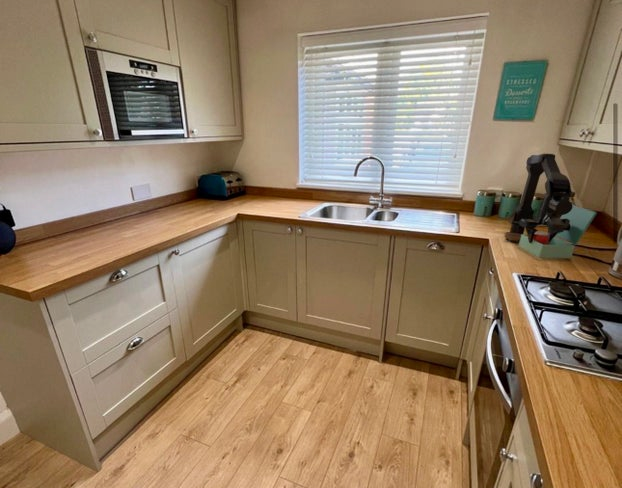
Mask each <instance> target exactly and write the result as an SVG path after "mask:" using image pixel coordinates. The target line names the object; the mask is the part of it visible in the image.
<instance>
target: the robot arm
mask: <svg viewBox="0 0 622 488" xmlns="http://www.w3.org/2000/svg"><path fill="white" fill-rule="evenodd" d="M525 169H526V171H527V174H528V175H527V177H526V178H527V179H526V181H525V186H524V189H523V192H522V195H521V200H520V202H519V204H518V205H517V206H516V207H515V208H514V210H513V212H512V213H511V215H509V217H508V221H507V222H508V223H509V224H510V229H509V231H507V232H505V233H517V234H525V231H526V234H527V235H528V240H529V243H532V241H533V238H534V235H535V232H537V231H538V230H539V229H537V227H542V228H547V231H546V232H547V233H549V234H550V237H549V242H550V241H551V240H552V239H553V238H554V237H557V236H556V235H557V234H558V233H560V232H564V231H563V230H566V231H569V230H570V228H571V225H570V224H569V222H570V220H569V219H560V218H561V217H560V215H561V216H562V215H565V214H567V213H569V212H570V211H571V210H572V208H573V207H572V205H573V202H571V201H570V198H572V194H573V191H572V186H571V181H570V178H568V176H567V175H565V174H563V173H562V172H561V170H560V167H559V165H558V162H557V161H556V154H554V153H546V152H545V153H540V154H531V155H530V156H529V157H528V158H527V159H526V167H525ZM542 174H545V178H546V181H545V183H544V189H545V193H544V196H545V197H544V200H543V203H542V206H541V208H538V212H539V216H538V217H537V218H535V220H533V219H534V213H535V210H534V209H533V206H532V205H533V201H534V197H535V194H536V191H537V188H538V184H539V181H540V177H541V176H542ZM549 242H548V244H549Z"/></svg>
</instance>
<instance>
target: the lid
mask: <svg viewBox="0 0 622 488" xmlns="http://www.w3.org/2000/svg"><path fill="white" fill-rule="evenodd" d="M572 207H573V208H572V210H571V211H570V212H569V213H567V214H565V215H561V216H560V217H559V218H560V219H569V220H570V222H569V224H570V225H571V228H570V230H569V231H566V230H563V231H564V232H560V233H558V234H557V235H556V236H555V237H557V238H559V239H561V240H563V241H565V242H567V243H570V244H572V245H574V246H578V243H579V242H580V240H581V239H582V237H583V236H584V234H585V233H586V231H587V229H588V228H589V226H591V224H592V222H593V220H594V219H595V217H596V215H597V214H598V213H597V211H593V210H590V209H588V208H587V209H586V208H583V207H581V206H577V205H574V204H572Z"/></svg>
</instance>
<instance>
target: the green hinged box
mask: <svg viewBox="0 0 622 488" xmlns="http://www.w3.org/2000/svg"><path fill="white" fill-rule="evenodd" d="M518 247H520V248H521V249H523V250H525V251H527V252H528V253H530V254H532V255H533V256H534V257H537V258H539V259H572V256H573V255H574V251H575V248H576V245H574V244H572V243H570V242H568V241H565V240H563V239H561V238H559V237H557V236H555V237H554V238H553V239H552V240H551V241H550V242H549V244H548V245H543V244H541V243H539V242H537V241H535V240H533V241H532V243H529V240H528V235H527V233H526V234H525V233H523V234H522V235H521V239H520V242H519V244H518Z"/></svg>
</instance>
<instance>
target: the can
mask: <svg viewBox="0 0 622 488" xmlns="http://www.w3.org/2000/svg"><path fill="white" fill-rule="evenodd" d="M547 232H548V231H541V230H540V231H537V232H535V235H534V238H533V240H535V241H537V242H539V243H541V244H543V245H548V242H549V237H550V234H549V233H547Z"/></svg>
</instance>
